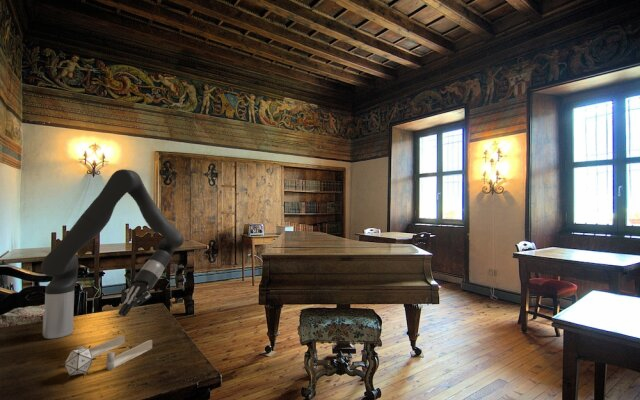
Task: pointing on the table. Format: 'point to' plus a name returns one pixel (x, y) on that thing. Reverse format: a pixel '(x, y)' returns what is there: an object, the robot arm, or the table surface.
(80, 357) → the game die
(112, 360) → the chute
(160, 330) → the table surface
